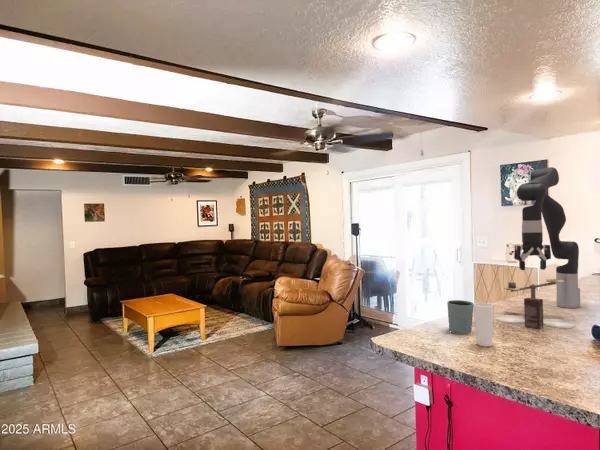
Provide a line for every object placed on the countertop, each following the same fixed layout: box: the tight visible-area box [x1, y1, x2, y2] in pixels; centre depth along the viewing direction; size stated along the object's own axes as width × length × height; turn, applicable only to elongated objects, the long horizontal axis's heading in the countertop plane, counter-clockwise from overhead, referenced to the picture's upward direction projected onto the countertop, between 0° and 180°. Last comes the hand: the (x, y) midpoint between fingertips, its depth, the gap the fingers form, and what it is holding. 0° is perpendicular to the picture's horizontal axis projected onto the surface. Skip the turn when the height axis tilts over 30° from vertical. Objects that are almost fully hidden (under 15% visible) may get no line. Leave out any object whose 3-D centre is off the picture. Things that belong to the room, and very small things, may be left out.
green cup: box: [446, 299, 475, 335], centre depth 164 cm, size 10×10×12 cm
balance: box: [503, 278, 564, 319], centre depth 187 cm, size 24×7×17 cm, turn 60°
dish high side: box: [543, 318, 576, 329], centre depth 170 cm, size 12×12×1 cm
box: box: [523, 297, 544, 330], centre depth 168 cm, size 6×4×12 cm
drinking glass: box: [473, 302, 495, 348], centre depth 146 cm, size 7×7×15 cm
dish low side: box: [495, 314, 525, 325], centre depth 179 cm, size 12×12×1 cm
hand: (532, 269), depth 168 cm, fingers open, 8 cm apart
